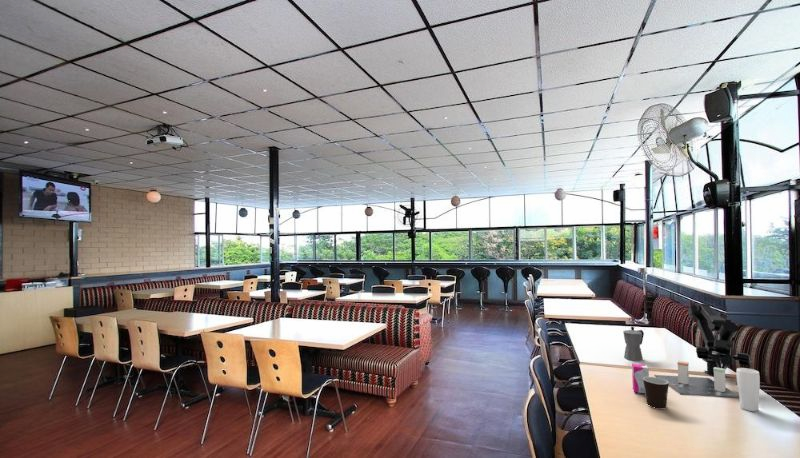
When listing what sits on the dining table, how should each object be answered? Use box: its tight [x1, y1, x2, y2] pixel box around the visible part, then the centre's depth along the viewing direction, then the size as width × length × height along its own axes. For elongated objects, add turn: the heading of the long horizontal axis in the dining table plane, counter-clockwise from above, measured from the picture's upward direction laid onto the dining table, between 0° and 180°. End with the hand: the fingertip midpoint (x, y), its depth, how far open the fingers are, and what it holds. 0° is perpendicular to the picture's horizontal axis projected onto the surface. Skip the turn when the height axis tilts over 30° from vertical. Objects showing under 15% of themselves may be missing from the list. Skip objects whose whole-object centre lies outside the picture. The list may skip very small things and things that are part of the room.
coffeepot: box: [622, 326, 645, 362], centre depth 219 cm, size 15×9×18 cm, turn 113°
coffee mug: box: [643, 376, 669, 409], centre depth 156 cm, size 12×9×10 cm
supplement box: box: [631, 363, 650, 395], centre depth 170 cm, size 6×6×12 cm
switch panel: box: [653, 374, 740, 399], centre depth 176 cm, size 24×24×1 cm
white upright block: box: [713, 367, 727, 392], centre depth 169 cm, size 3×4×9 cm
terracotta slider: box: [677, 360, 690, 385], centre depth 179 cm, size 3×4×9 cm
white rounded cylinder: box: [736, 367, 761, 413], centre depth 152 cm, size 7×7×15 cm
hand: (721, 372), depth 172 cm, fingers closed
